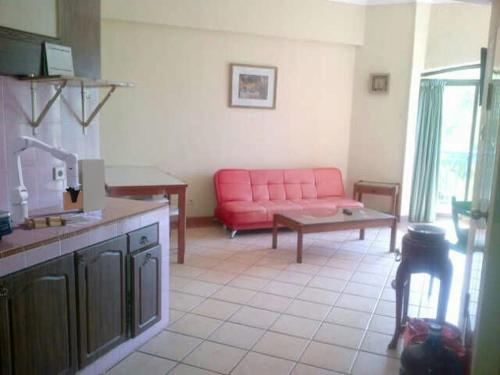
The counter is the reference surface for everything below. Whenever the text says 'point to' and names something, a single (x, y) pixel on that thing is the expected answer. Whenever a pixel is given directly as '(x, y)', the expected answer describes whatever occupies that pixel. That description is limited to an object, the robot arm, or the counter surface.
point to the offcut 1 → (39, 223)
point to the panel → (68, 202)
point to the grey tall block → (92, 184)
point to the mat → (75, 219)
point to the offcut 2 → (54, 221)
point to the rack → (31, 222)
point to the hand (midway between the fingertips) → (73, 201)
